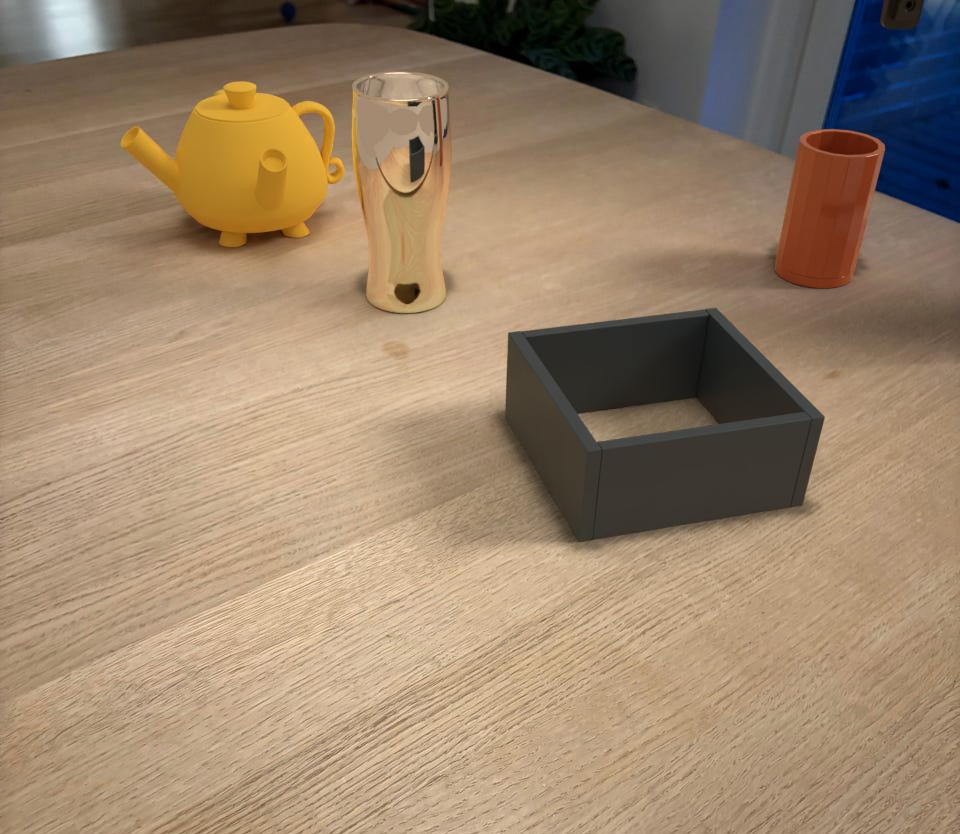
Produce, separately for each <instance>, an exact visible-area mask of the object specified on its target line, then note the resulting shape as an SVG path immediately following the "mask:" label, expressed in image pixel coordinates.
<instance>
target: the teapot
mask: <svg viewBox="0 0 960 834" xmlns="http://www.w3.org/2000/svg"><path fill="white" fill-rule="evenodd" d="M309 113H310V114H311V113H315V114H317V115H320V116H321V117H322V120H323V128H324V129H323V139H322V144H321V149H320V150H319V148H318V145H317V143H316V141H315V139H314V137H313V136H312V134H311V132H310V131H309V130H308V128H307V126H306V125H305V124H304V122H303V120H302V119H301V118H300V116H302V115H305V114H309ZM334 119H335V118H334V116H333V114H332V113H331V111H330V110H329V109H328V108H327V107H326V106H325V105H323V104H321V103H319V102H317V101H313V100H304V101H301V102H298V103H296V104H294V105H293V106H291V104H290V103H289V102H288V101H286V100H285V99H283V98H282V97H279V96H278V95H273V94H269V93H261V92H257V85H256V84H255V83H253V82H250V81H243V80H242V81H241V80H240V81H232V82H229V83H226V84H224V85H223V89H219V90H216V91H215V92H214V93H213V96H209V97H207V98H205V99H202V100H200V101H199V102H198V103H197V104H196V105H195V106H194V108H193V110H192V111H191V112H190V115H189V117H188V119H187V121H186V123H185V126H184V128H183V131H182V133H181V135H180V138H179V141H178V144H177V146H176V150H175V155H174V159H172V157H171V156H170V155H168V153H167V152H165V151H164V150H163V149H162V148H161V146H159V145H158V144H157V143H156V142H155V141H154V140H153V139H152V138H151V137H150V136H149V135H148V134H147V133H146V132H145V131H144V130H143V129H142V128H141V127H140V126H138V125H135V126H133V127H131V128H129V129H128V130H127V132H125V134H124V135H123V136H122V138H121V140H120V147H121V148H122V149H123V150H124V151H125V152H127V153H128V154H129V155H130V156H131V157H133V158H134V159H135V160H136V161H137V162H138V163H140V164H141V165H142V166H143V167H144V168H145V169H146V170H147V171H149V172H150V173H151V174H152V175H153V176H154V177H156V179H158V180H159V181H160V182H162V183H163V185H165V186H166V187H167V188H168V189H169V190H170V191H172V192H173V195H174V197H175V199H176V201H177V203H178V205H180V206H181V208H182V209H183V210H184V211H186V213H187V214H188V215H189V216H191V217H192V219H194V220H195V221H196V222H197V223H199V224H200V225H203V226H204V227H207V228H209V229H213V230H216V231H220V232H221V233H220V237H219V241H218V244H219V245H220V246H221V247H225V248H238V247H241V246H243V245H245V244H246V243H247V234H256V233H266V232H274V231H280V230H281V232H282V234H283V236H284V237H288V238H303V237H306V236H308V235H309V234H310V229H309V228H308V227H307V225H306V224H305V221H307V220H308V219H310V218H311V217H312V216H313V214H314V213H315V212H316V211H317V210H318V208H320V205H321V204H322V203H323V202H324V200H325V198H326V196H327V193H328V189H329V185H336V184H337V183H339V182H340V181H341V180H343V178H344V176H345V165H344V163H343V161H342V160H341V159H340V158H338V157H336V156H332V151H333V146H334V141H335V135H336V126H335V125H336V124H335V121H334ZM330 166H336V169H335V170H334V171H333V172H331V173H330Z"/></svg>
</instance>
